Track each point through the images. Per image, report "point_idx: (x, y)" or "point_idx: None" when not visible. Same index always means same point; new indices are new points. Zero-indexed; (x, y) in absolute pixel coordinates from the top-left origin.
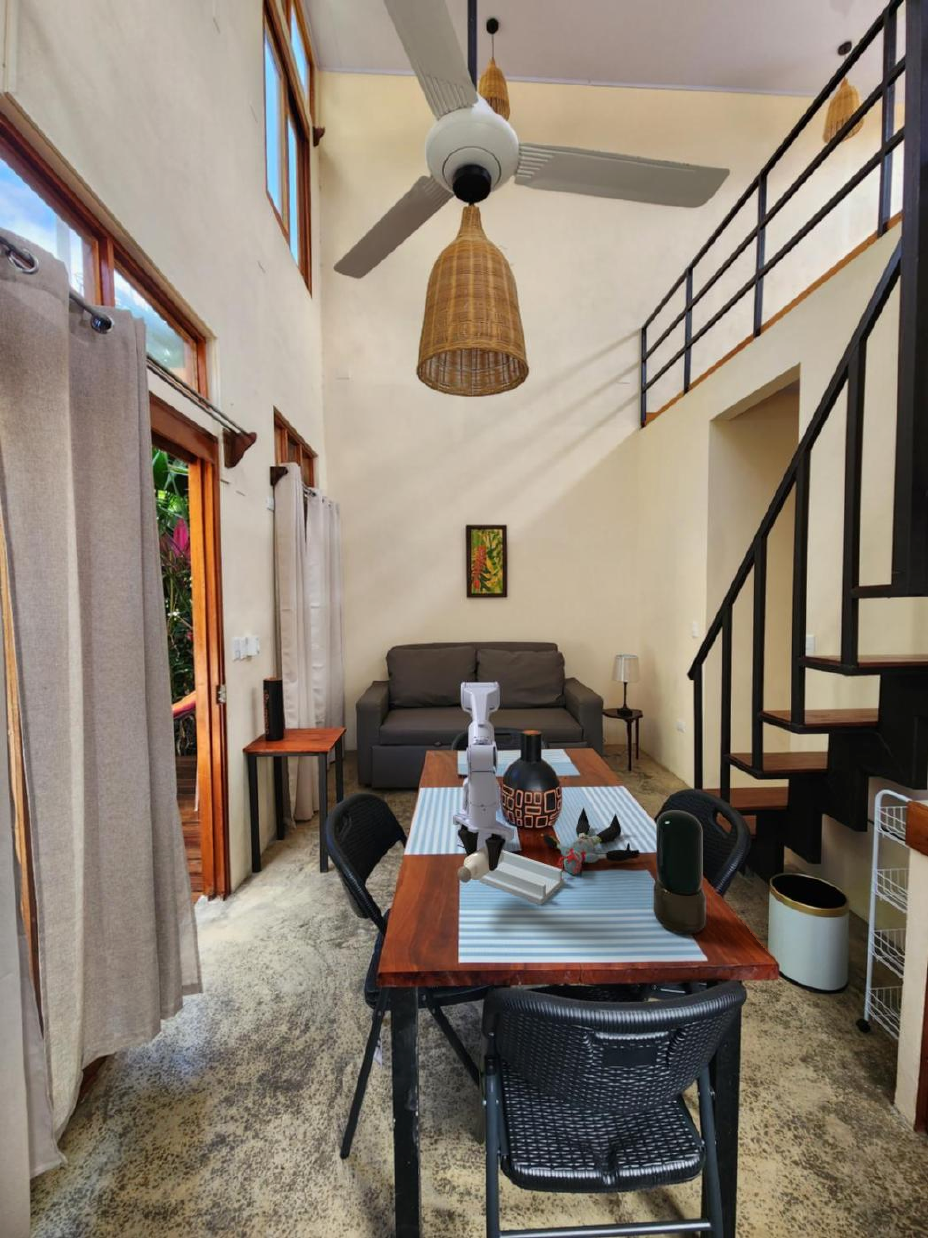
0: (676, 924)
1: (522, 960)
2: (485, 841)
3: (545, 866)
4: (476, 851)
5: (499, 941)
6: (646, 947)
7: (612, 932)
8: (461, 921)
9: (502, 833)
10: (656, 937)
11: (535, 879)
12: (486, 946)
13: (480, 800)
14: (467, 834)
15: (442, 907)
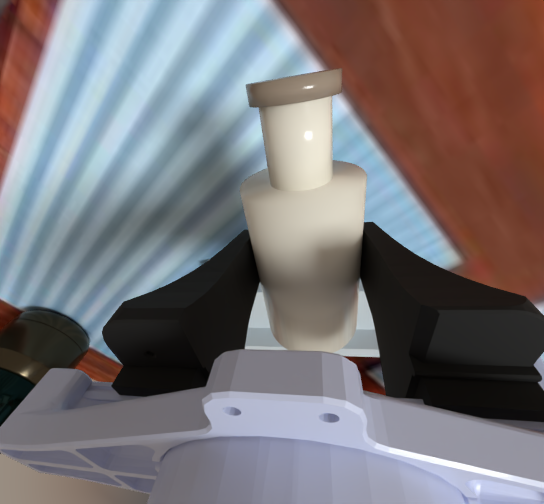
0: (16, 318)
1: (54, 51)
2: (178, 311)
3: (254, 347)
4: (330, 267)
5: (153, 72)
6: (21, 263)
7: (74, 265)
8: (303, 60)
9: (51, 421)
10: (40, 289)
11: (264, 313)
12: (153, 14)
13: None
14: (414, 331)
15: (412, 73)
